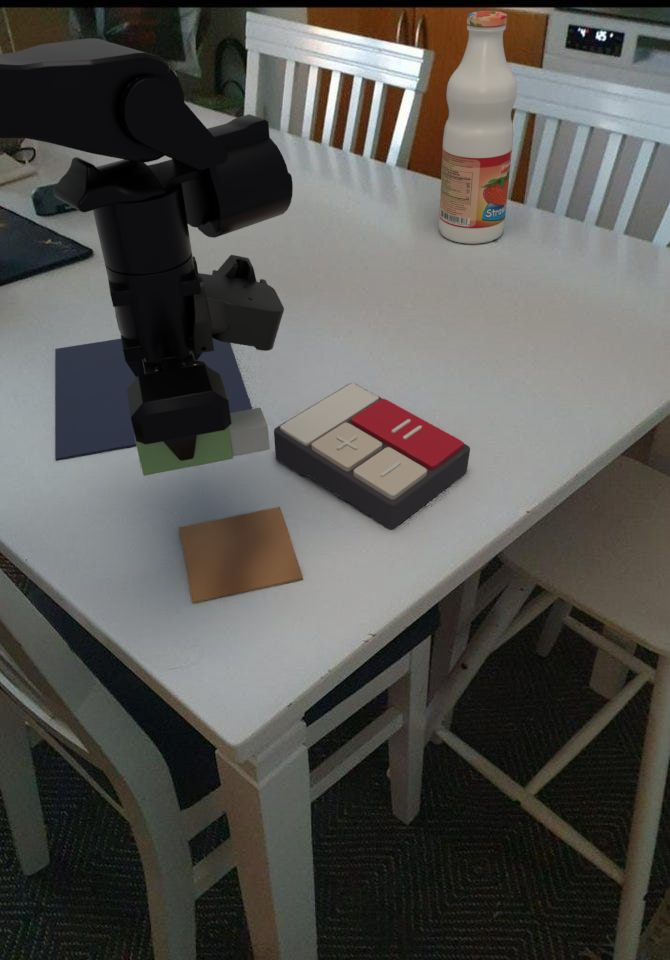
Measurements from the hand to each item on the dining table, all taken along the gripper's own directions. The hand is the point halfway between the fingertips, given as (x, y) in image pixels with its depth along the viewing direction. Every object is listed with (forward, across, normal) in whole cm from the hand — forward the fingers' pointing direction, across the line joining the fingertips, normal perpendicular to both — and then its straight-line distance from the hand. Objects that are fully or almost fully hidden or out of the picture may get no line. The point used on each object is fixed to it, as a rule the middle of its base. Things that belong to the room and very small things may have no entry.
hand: (183, 445), depth 63 cm
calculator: (+10, +5, -17) cm, 20 cm away
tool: (+1, 0, -2) cm, 2 cm away
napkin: (+10, +26, +2) cm, 28 cm away
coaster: (+10, -3, -3) cm, 11 cm away
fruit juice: (+10, +53, -47) cm, 72 cm away
